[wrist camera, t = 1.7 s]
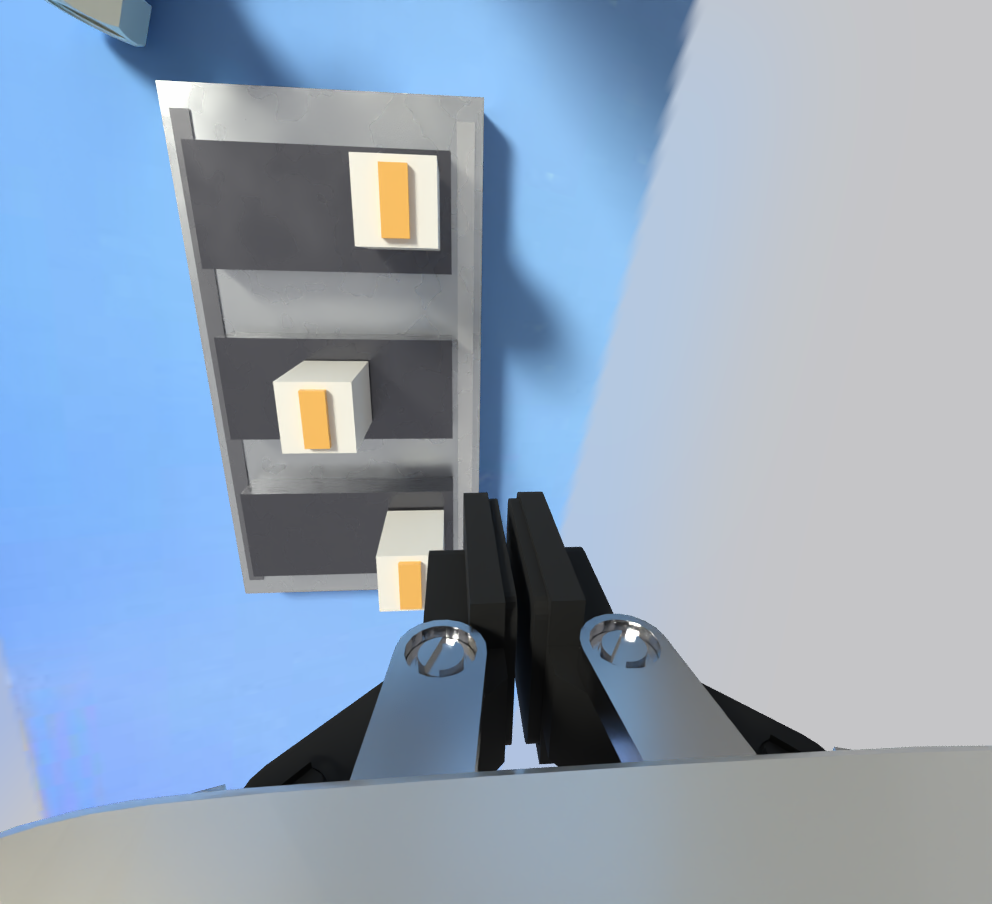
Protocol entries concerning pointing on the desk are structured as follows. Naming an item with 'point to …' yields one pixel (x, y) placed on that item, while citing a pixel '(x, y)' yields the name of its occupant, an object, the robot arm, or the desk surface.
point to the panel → (329, 314)
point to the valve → (111, 17)
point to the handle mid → (323, 406)
